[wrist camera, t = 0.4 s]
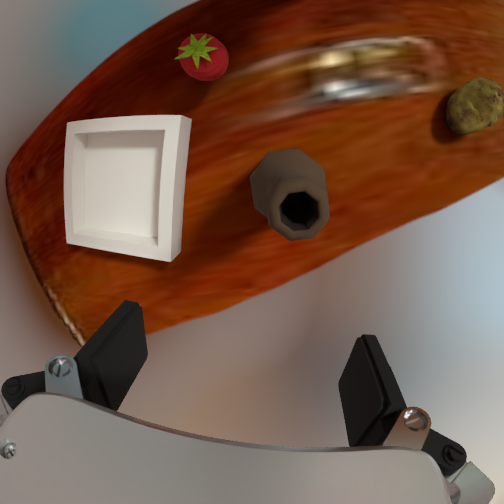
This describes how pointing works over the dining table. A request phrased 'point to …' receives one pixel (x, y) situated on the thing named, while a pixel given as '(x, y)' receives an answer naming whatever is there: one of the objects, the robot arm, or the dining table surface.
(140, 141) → the tray
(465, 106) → the potato
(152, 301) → the dining table surface
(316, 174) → the beer bottle
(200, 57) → the strawberry
